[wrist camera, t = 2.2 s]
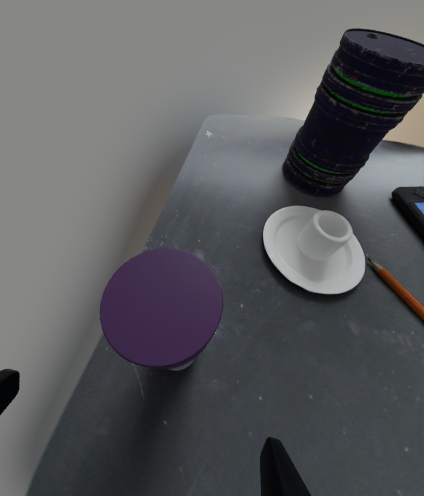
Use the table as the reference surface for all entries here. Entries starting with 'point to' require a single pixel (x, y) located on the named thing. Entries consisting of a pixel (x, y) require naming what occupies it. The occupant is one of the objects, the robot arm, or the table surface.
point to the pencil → (399, 289)
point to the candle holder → (314, 249)
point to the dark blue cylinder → (354, 109)
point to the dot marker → (161, 308)
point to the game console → (411, 204)
